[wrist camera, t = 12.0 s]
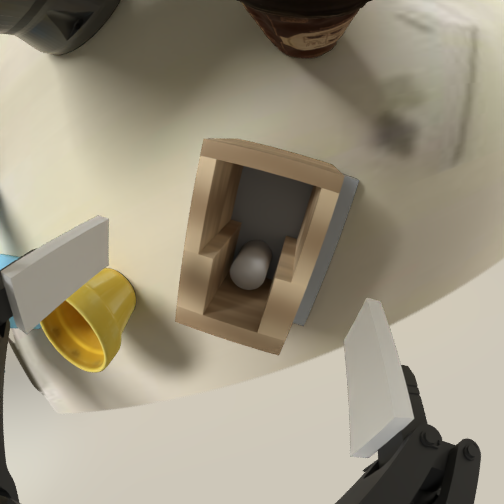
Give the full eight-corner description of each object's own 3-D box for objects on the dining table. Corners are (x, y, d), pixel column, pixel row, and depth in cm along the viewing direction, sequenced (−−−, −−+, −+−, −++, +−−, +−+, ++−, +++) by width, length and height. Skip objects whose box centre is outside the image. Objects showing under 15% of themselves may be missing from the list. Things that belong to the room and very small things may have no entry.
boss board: (212, 138, 24) (190, 138, 19) (357, 179, 23) (369, 188, 18) (185, 282, 30) (165, 307, 25) (304, 320, 29) (301, 352, 24)
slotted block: (237, 138, 22) (203, 138, 15) (332, 164, 22) (344, 176, 14) (208, 274, 28) (175, 321, 20) (288, 299, 27) (278, 355, 20)
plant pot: (154, 272, 30) (103, 321, 21) (147, 337, 34) (109, 388, 25) (85, 240, 31) (29, 274, 22) (86, 305, 35) (43, 344, 26)
